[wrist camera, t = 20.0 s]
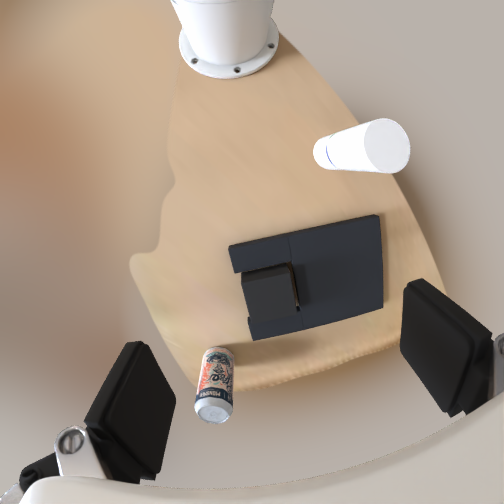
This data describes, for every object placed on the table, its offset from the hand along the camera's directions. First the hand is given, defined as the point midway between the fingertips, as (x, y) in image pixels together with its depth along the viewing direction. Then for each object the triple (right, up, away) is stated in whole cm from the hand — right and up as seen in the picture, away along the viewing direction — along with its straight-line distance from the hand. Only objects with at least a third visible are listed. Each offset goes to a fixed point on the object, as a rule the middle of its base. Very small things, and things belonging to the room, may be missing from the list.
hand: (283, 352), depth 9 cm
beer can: (-6, -13, +32) cm, 35 cm away
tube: (+9, +16, +23) cm, 29 cm away
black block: (+1, -1, +28) cm, 28 cm away
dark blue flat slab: (+7, 0, +28) cm, 29 cm away
